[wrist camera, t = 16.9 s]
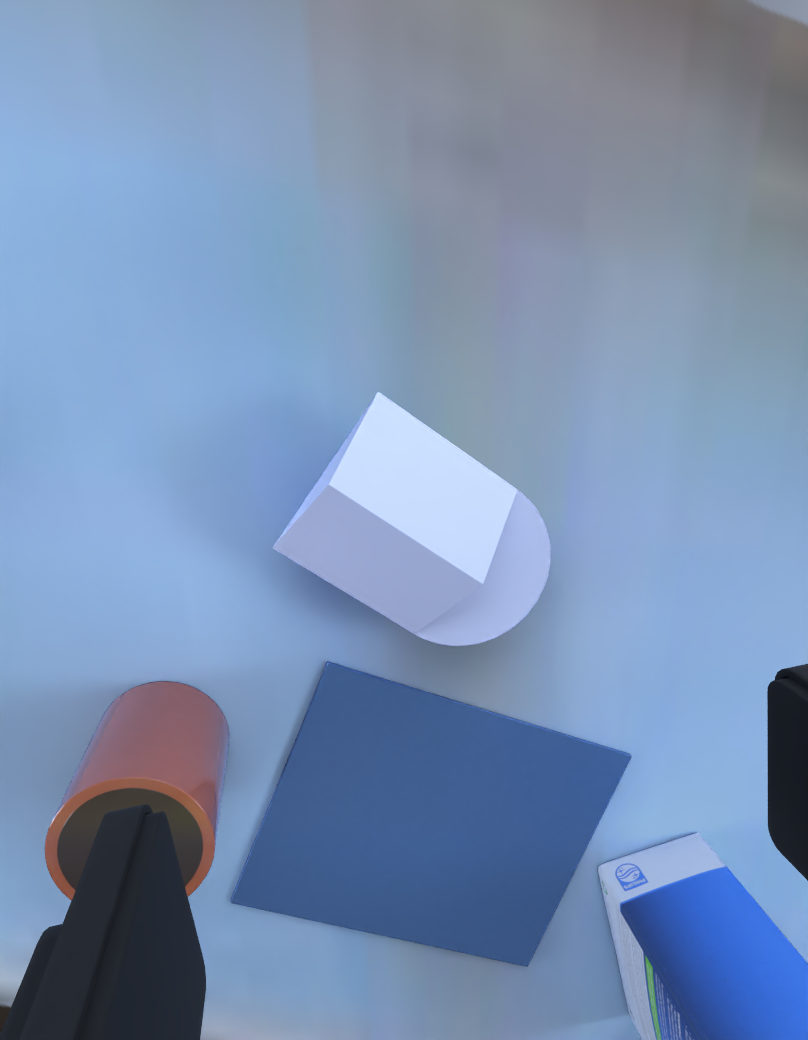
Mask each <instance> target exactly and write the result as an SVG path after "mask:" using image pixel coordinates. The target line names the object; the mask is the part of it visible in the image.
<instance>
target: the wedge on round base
mask: <svg viewBox="0 0 808 1040" xmlns="http://www.w3.org/2000/svg"><path fill="white" fill-rule="evenodd" d="M273 549H275V550H276V551H278V552H280V553H281V554H283V555H285V556H286V557H288V558H289V559H291V560H293V561H294V562H296V563H298V564H299V565H301V566H303V567H304V568H306V569H308V570H309V571H311V572H313V573H314V574H316V575H318V576H319V577H321V578H323V579H324V580H326V581H328V582H329V583H331V584H332V585H334V586H336V587H337V588H339V589H341V590H342V591H344V592H346V593H347V594H349V595H351V596H352V597H354V598H356V599H357V600H359V601H361V602H362V603H364V604H366V605H367V606H369V607H371V608H372V609H374V610H375V611H377V612H379V613H380V614H382V615H384V616H385V617H387V618H389V619H390V620H392V621H394V622H395V623H397V624H399V625H400V626H402V627H404V628H405V629H407V630H409V631H410V632H412V633H414V634H415V635H417V636H419V637H421V638H423V639H425V640H428V641H431V642H434V643H438V644H443V645H451V646H464V645H473V644H478V643H482V642H485V641H488V640H491V639H493V638H495V637H497V636H500V635H502V634H503V633H505V632H507V631H508V630H510V629H511V628H513V627H514V626H515V625H516V624H518V623H519V622H520V621H521V620H522V619H523V618H524V617H525V616H526V615H527V614H528V613H529V612H530V610H531V609H532V608H533V606H534V605H535V603H536V602H537V600H538V598H539V597H540V595H541V593H542V591H543V588H544V586H545V583H546V581H547V577H548V573H549V568H550V559H551V553H550V542H549V536H548V532H547V529H546V526H545V523H544V521H543V519H542V517H541V515H540V513H539V512H538V510H537V509H536V507H535V506H534V505H533V504H532V503H531V501H530V500H529V499H528V498H527V497H526V496H525V495H523V494H522V493H521V492H520V491H519V490H517V489H516V488H515V487H513V486H512V485H510V484H509V483H507V482H506V481H505V480H503V479H502V478H500V477H499V476H497V475H496V474H495V473H493V472H492V471H490V470H489V469H487V468H486V467H485V466H483V465H482V464H480V463H479V462H478V461H476V460H475V459H473V458H472V457H470V456H469V455H468V454H466V453H465V452H463V451H462V450H460V449H459V448H458V447H456V446H455V445H453V444H452V443H451V442H449V441H448V440H446V439H445V438H443V437H442V436H441V435H439V434H438V433H436V432H435V431H433V430H432V429H431V428H429V427H428V426H426V425H425V424H424V423H422V422H421V421H419V420H418V419H416V418H415V417H414V416H412V415H411V414H409V413H408V412H406V411H405V410H404V409H402V408H401V407H399V406H398V405H396V404H395V403H394V402H392V401H391V400H389V399H388V398H387V397H385V396H384V395H382V394H381V393H379V392H377V394H376V395H375V397H374V398H373V400H372V401H371V403H370V404H369V406H368V407H367V409H366V410H365V412H364V413H363V415H362V416H361V418H360V419H359V421H358V422H357V423H356V425H355V426H354V428H353V429H352V431H351V432H350V434H349V435H348V437H347V438H346V440H345V441H344V443H343V444H342V446H341V447H340V449H339V450H338V452H337V453H336V455H335V456H334V457H333V459H332V460H331V462H330V463H329V465H328V466H327V468H326V469H325V471H324V472H323V474H322V475H321V477H320V478H319V480H318V481H317V483H316V484H315V486H314V487H313V489H312V490H311V492H310V493H309V494H308V496H307V497H306V499H305V500H304V502H303V503H302V505H301V506H300V508H299V509H298V511H297V512H296V514H295V515H294V517H293V518H292V520H291V521H290V523H289V524H288V526H287V527H286V529H285V530H284V531H283V533H282V534H281V536H280V537H279V539H278V540H277V542H276V543H275V545H274V546H273Z"/></svg>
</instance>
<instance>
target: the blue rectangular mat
mask: <svg viewBox="0 0 808 1040" xmlns="http://www.w3.org/2000/svg"><path fill="white" fill-rule="evenodd" d="M630 759H631V755H630V754H628V753H625V752H622V751H618V750H615V749H612V748H609V747H605V746H602V745H599V744H595V743H592V742H589V741H586V740H582V739H579V738H576V737H573V736H569V735H566V734H563V733H559V732H556V731H553V730H550V729H546V728H543V727H540V726H537V725H533V724H530V723H527V722H523V721H520V720H517V719H514V718H510V717H507V716H504V715H501V714H497V713H494V712H491V711H487V710H484V709H481V708H478V707H474V706H471V705H468V704H465V703H461V702H458V701H455V700H451V699H448V698H445V697H442V696H438V695H435V694H432V693H429V692H425V691H422V690H419V689H415V688H412V687H409V686H406V685H402V684H399V683H396V682H393V681H389V680H386V679H383V678H379V677H376V676H373V675H370V674H366V673H363V672H360V671H357V670H353V669H350V668H347V667H343V666H340V665H337V664H334V663H330V662H327V664H326V666H325V669H324V671H323V674H322V676H321V679H320V681H319V684H318V686H317V689H316V691H315V694H314V696H313V699H312V701H311V703H310V706H309V708H308V711H307V713H306V716H305V718H304V721H303V723H302V726H301V728H300V731H299V733H298V736H297V738H296V740H295V743H294V745H293V748H292V750H291V753H290V755H289V758H288V760H287V763H286V765H285V768H284V770H283V773H282V775H281V777H280V780H279V782H278V785H277V787H276V790H275V792H274V795H273V797H272V800H271V802H270V805H269V807H268V810H267V812H266V814H265V817H264V819H263V822H262V824H261V827H260V829H259V832H258V834H257V837H256V839H255V842H254V844H253V847H252V849H251V851H250V854H249V856H248V859H247V861H246V864H245V866H244V869H243V871H242V874H241V876H240V879H239V881H238V884H237V886H236V888H235V891H234V893H233V896H232V898H231V903H233V904H238V905H243V906H247V907H252V908H257V909H261V910H266V911H271V912H275V913H280V914H285V915H289V916H294V917H298V918H303V919H308V920H312V921H317V922H322V923H326V924H331V925H336V926H340V927H345V928H350V929H354V930H359V931H364V932H368V933H373V934H378V935H382V936H387V937H392V938H396V939H401V940H406V941H410V942H415V943H419V944H424V945H429V946H433V947H438V948H443V949H447V950H452V951H457V952H461V953H466V954H471V955H475V956H480V957H485V958H489V959H494V960H499V961H503V962H508V963H513V964H517V965H522V966H528V965H529V962H530V960H531V958H532V956H533V954H534V952H535V950H536V948H537V946H538V944H539V942H540V940H541V938H542V936H543V934H544V932H545V930H546V928H547V926H548V924H549V922H550V920H551V918H552V916H553V914H554V912H555V910H556V908H557V906H558V904H559V902H560V900H561V898H562V896H563V894H564V892H565V890H566V888H567V886H568V884H569V882H570V880H571V878H572V876H573V874H574V872H575V870H576V868H577V866H578V864H579V862H580V859H581V857H582V855H583V853H584V851H585V849H586V847H587V845H588V843H589V841H590V839H591V837H592V835H593V833H594V831H595V829H596V827H597V825H598V823H599V821H600V819H601V817H602V815H603V813H604V811H605V809H606V807H607V805H608V803H609V801H610V799H611V797H612V795H613V793H614V791H615V789H616V787H617V785H618V783H619V781H620V779H621V777H622V775H623V773H624V771H625V769H626V767H627V765H628V763H629V761H630Z"/></svg>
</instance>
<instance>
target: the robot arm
mask: <svg viewBox="0 0 808 1040" xmlns="http://www.w3.org/2000/svg"><path fill="white" fill-rule="evenodd" d="M768 829H769V833H770V836H771V838H772V841H773V843H774V844H775V846H776V848H777V849H778V850H779V851H780V852H781V854H782V855H783V856H784V857H785V858H786V859H787V860H788V861H789V862H790V863H791V864H792V865H793V866H794V867H795V868H796V869H797V870H798V871H799V872H800V873H801V874H802V875H803V876H804V877H805V878H806V879H807V880H808V664H805V665H800V666H796V667H791V668H786V669H781V670H780V671H779V672H777V675H776V677H775V681H772V682H771V683H770V684H769V686H768ZM205 992H206V973H205V965H204V960H203V956H202V952H201V948H200V944H199V940H198V936H197V932H196V928H195V924H194V920H193V917H192V913H191V909H190V905H189V901H188V897H187V893H186V889H185V885H184V881H183V877H182V873H181V869H180V866H179V862H178V858H177V854H176V850H175V846H174V842H173V838H172V834H171V830H170V826H169V822H168V819H167V816H166V814H165V812H163V811H161V812H157V813H153V811H152V809H151V807H150V806H149V805H148V804H143V805H139V806H134V807H129V808H125V809H120V810H115V811H110V812H107V813H105V815H104V817H103V819H102V822H101V824H100V827H99V830H98V832H97V835H96V837H95V840H94V843H93V845H92V848H91V851H90V853H89V856H88V859H87V861H86V864H85V867H84V869H83V872H82V875H81V877H80V880H79V883H78V885H77V888H76V890H75V893H74V896H73V898H72V901H71V904H70V906H69V909H68V912H67V914H66V917H65V920H64V922H63V924H60V925H56V926H52V927H49V928H48V929H46V930H45V931H44V932H43V934H42V936H41V937H40V939H39V941H38V943H37V946H36V948H35V950H34V953H33V955H32V958H31V960H30V963H29V965H28V968H27V970H26V973H25V975H24V977H23V980H22V982H21V985H20V987H19V990H18V992H17V995H16V997H15V1000H14V1002H13V1004H12V1007H11V1010H10V1012H9V1014H8V1017H7V1019H6V1022H5V1024H4V1027H3V1029H2V1032H1V1034H0V1040H200V1035H201V1026H202V1018H203V1010H204V1001H205Z"/></svg>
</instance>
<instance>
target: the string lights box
mask: <svg viewBox="0 0 808 1040" xmlns="http://www.w3.org/2000/svg"><path fill="white" fill-rule="evenodd" d="M598 873H599V878H600V882H601V887H602V891H603V896H604V901H605V905H606V910H607V914H608V919H609V923H610V928H611V932H612V937H613V941H614V946H615V950H616V955H617V959H618V964H619V969H620V974H621V978H622V983H623V987H624V992H625V997H626V1001H627V1006H628V1010H629V1015H630V1017H631V1019H632V1021H633V1023H634V1025H635V1027H636V1028H637V1030H638V1032H639V1034H640V1036H641V1038H642V1040H808V963H807V962H806V961H805V960H804V958H803V957H802V956H801V955H800V954H799V952H798V951H797V950H796V949H795V948H794V946H793V945H792V944H791V943H790V942H789V940H788V939H787V938H786V937H785V936H784V935H783V933H782V932H781V931H780V930H779V929H778V927H777V926H776V925H775V924H774V923H773V922H772V920H771V919H770V918H769V917H768V916H767V914H766V913H765V912H764V911H763V909H762V908H761V907H760V906H759V905H758V903H757V902H756V901H755V900H754V899H753V897H752V896H751V895H750V894H749V893H748V892H747V890H746V889H745V888H744V887H743V886H742V885H741V883H740V882H739V881H738V880H737V879H736V877H735V876H734V875H733V874H732V872H731V871H730V870H729V869H728V868H727V866H726V865H725V864H724V863H723V862H722V860H721V859H720V858H719V857H718V855H717V854H716V853H715V852H714V850H713V849H712V848H711V847H710V846H709V844H708V843H707V842H706V841H705V840H704V838H703V837H702V836H701V834H700V833H694V834H691V835H688V836H685V837H682V838H679V839H676V840H673V841H670V842H667V843H664V844H661V845H658V846H654V847H651V848H648V849H645V850H642V851H639V852H636V853H633V854H630V855H627V856H624V857H621V858H618V859H615V860H612V861H609V862H606V863H604V864H601V865H600V866H599V867H598Z"/></svg>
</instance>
